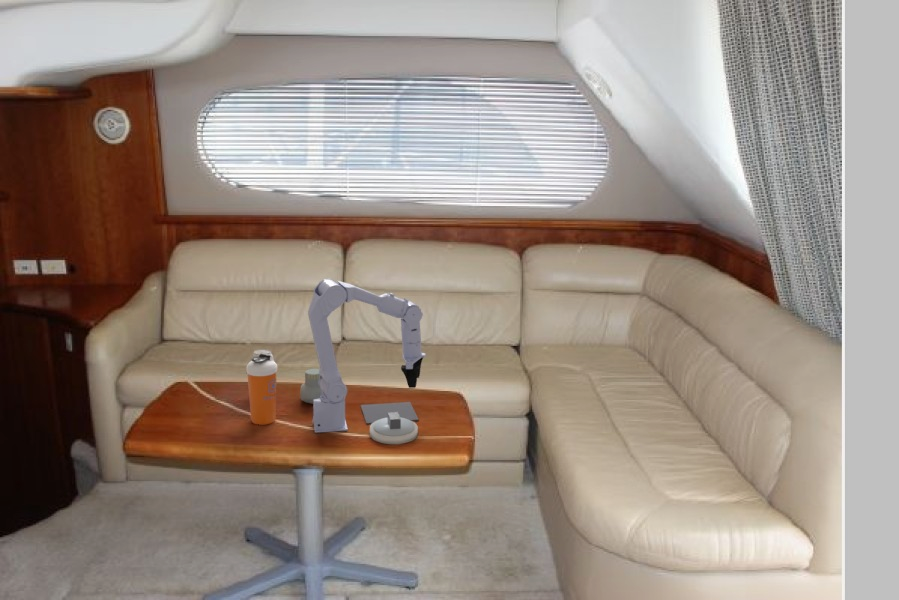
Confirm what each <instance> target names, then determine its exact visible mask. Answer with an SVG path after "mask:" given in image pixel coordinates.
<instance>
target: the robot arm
mask: <svg viewBox="0 0 899 600" xmlns="http://www.w3.org/2000/svg"><path fill="white" fill-rule="evenodd" d="M354 300H355V301H359V302H362V303H364V304H369V305H372V306H375V307H376V308H377V311H378V312H379V313H381V314H385V315H388V316H391V317H394V318H397V319H400V325H401V326H400V331H401V343H402V344H401V345H402V359H403V361H404V363H405V364H404V365H403V364H402V365H401V367H400V370H401V372H402V373H403V375H404V377H405V379H406V382H407V383H406V384H407V385H408V389H410V388H411V389H413V388H414V389H415V388H417V387H416V386H417V382H418V379H419V378H420V376H421V375H420V374H421V368H422V363H423V359H424V358H425V357H427V353H425V352H422V337H421V333H422V332H421V323H420V322H421V320H422V319H423V318H422V317H423V316H424V315H423V312H422V310H421V308H420V306H419V305H417V304H416V303H414V302H413V301H410V299H408V298H404V299H403V298H400V297H397V296H395V294H394V293H392V292H389V293H383V294H381V295H378V294H377V293H374V292H372V291H369V290H366V289H363V288H361V287H358V286H356V285H353V284H350V283H348V282H344V281H341V280H336V281H335V280H334V279H333V278H324V279H322V280H320V281H319V282H318V284H317V285H315V286H314V289H313V296H312V299H311V302H310V304H309V307H308V310H307V315H308V319H309V320H308V321H309V324H310V329H311V335H312V337H313V338H312V339H313V342H314V347H315V351H316V356H317V360H318V364H319V369H320V370H319V374H320V378H319V382H318V385H319V388H320V389H321V390H322V393H321V396H320V398H318V399H314V400H313V404H312V405H313V406H312V409H313V410H312V416H313V417H312V424H313V428H314V429H313V430H314V433H329V432H346V431H348V425H347V421H346V397H347V396H348V395H347V394H348V387H347V386H346V384H345V383H344V382H343V380H342V376H341V372H340V371H339V368H338V364H337V360H336V355H335V350H334V346H333V340H332V337H331V330H330V326H329V320H328V317H329V316H330V315H331V314H332V313H333V312H335V310H337V309H338V308H340V307H341V306H342V305H344V304H345V302H346V303H347V304H348V303H350V302H352V301H354Z"/></svg>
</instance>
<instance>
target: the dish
mask: <svg viewBox="0 0 899 600" xmlns="http://www.w3.org/2000/svg"><path fill="white" fill-rule="evenodd" d="M375 422H376V421H375ZM375 422H373V423H372V424H369V436H370V437H369V438H371V439H372V440H373V441H375V442H378V443H380V444H385V445H402V444H407V443H411V442H412V441H414V440H415V439H417V437H418V436H419V435H418V433H419V426H418V425H417V423H416V422H415V421H412V422H413V423H414V425H415V427H414V430H413V431H412V432H411V433H409V434H406V435H402V436H386V435H382V434H379V433H377V432H376V431H375V430H374V429H373V424H374V423H375Z"/></svg>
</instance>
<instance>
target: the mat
mask: <svg viewBox="0 0 899 600" xmlns="http://www.w3.org/2000/svg"><path fill="white" fill-rule="evenodd" d="M360 408H361V412H362V415H363V418H364V421H365V423H366V425H371V424H372V423H373V422H375V421H377V420H379V419H382V418H387V417H388V413H392V412H398V414H399V416H400V417H401V418H405V419H408V420H410V421H413V422H417V421H420V420H419V417H418V416H417V413H416V411H415V409H414V407H413V405H412V403H411V401H404V402H386V403H371V404H360Z"/></svg>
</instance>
